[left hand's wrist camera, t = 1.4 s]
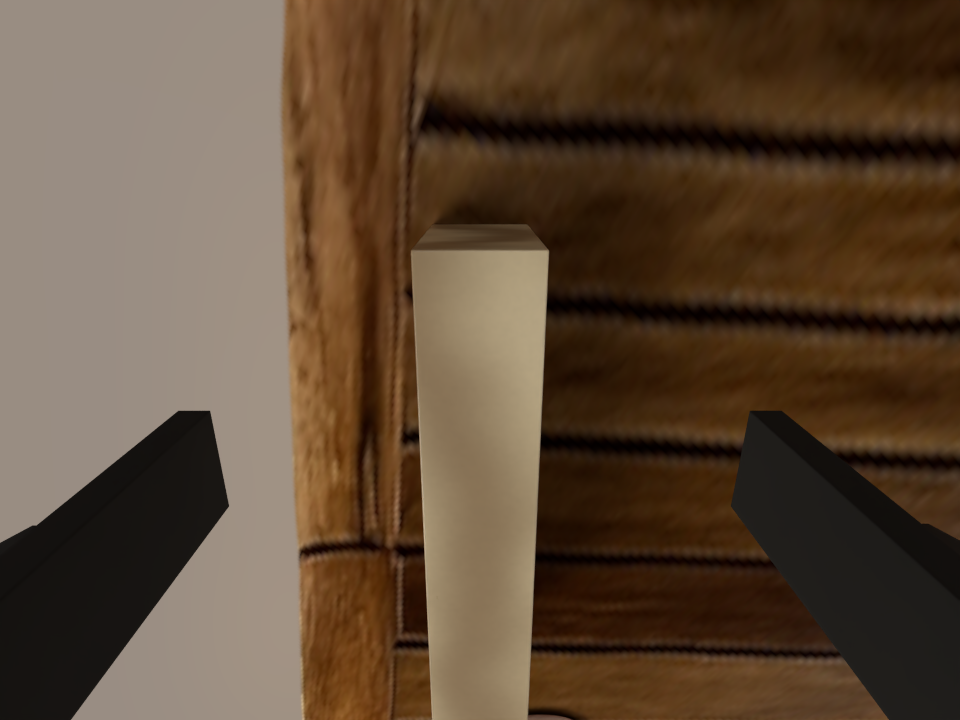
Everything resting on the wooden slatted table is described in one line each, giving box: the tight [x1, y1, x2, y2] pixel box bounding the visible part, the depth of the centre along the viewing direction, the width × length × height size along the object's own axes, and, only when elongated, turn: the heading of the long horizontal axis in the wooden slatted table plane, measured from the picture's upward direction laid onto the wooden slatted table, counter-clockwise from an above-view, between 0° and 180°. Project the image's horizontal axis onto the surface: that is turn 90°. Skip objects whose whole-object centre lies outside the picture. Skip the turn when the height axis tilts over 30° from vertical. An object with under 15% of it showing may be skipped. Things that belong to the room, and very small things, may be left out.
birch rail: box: [411, 224, 549, 720], centre depth 27 cm, size 5×26×9 cm, turn 0°
